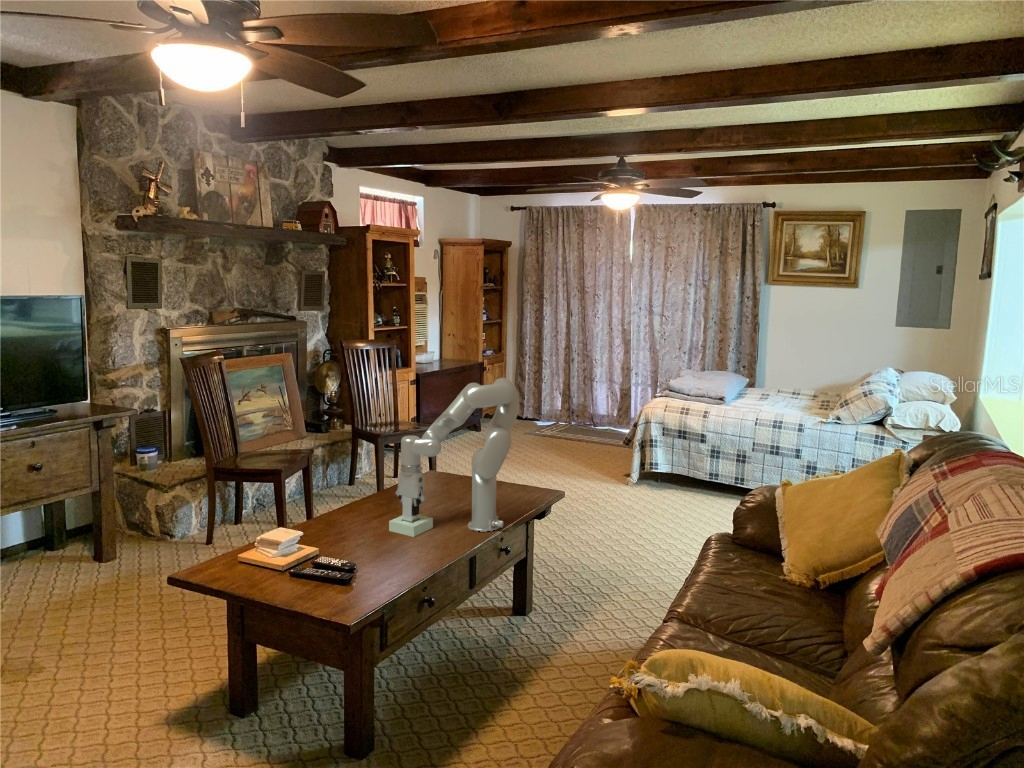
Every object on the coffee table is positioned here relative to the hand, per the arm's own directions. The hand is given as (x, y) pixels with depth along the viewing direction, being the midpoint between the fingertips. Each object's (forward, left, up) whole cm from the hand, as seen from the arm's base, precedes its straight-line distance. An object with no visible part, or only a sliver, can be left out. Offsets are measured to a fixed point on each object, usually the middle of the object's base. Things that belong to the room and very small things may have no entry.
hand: (410, 513), depth 279 cm
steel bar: (0, 0, -4) cm, 4 cm away
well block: (0, 0, -7) cm, 7 cm away
